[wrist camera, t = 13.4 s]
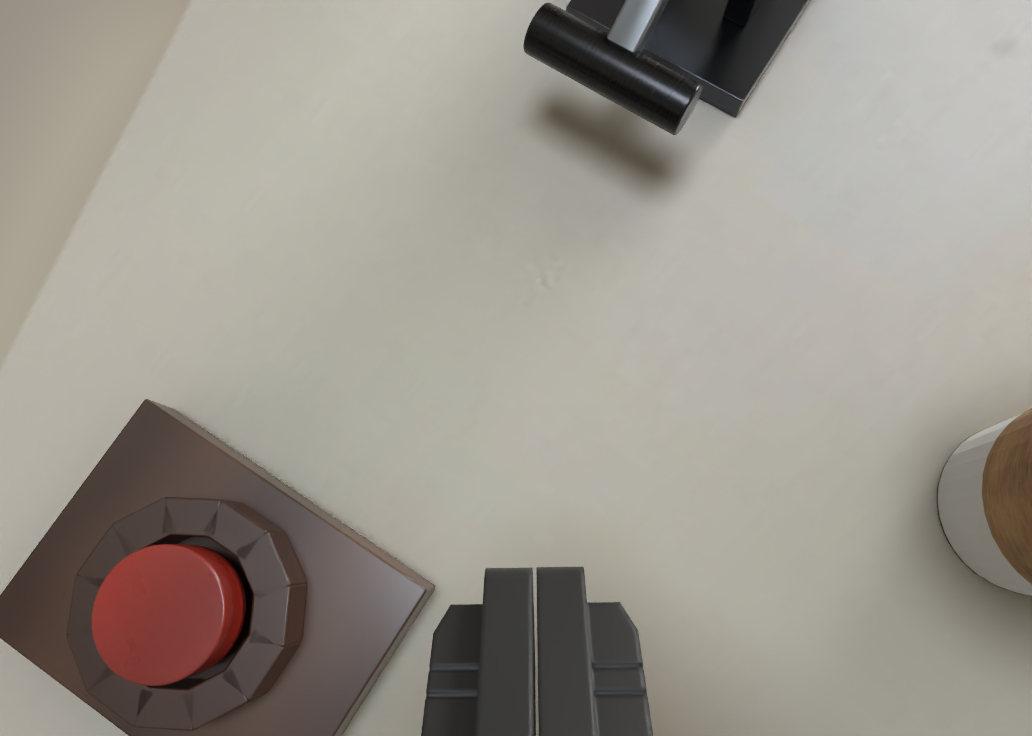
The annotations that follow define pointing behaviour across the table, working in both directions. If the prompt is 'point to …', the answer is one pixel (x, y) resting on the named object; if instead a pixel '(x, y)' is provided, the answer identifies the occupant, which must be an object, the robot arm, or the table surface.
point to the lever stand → (710, 40)
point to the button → (168, 613)
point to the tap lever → (615, 61)
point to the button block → (263, 571)
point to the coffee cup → (992, 503)
